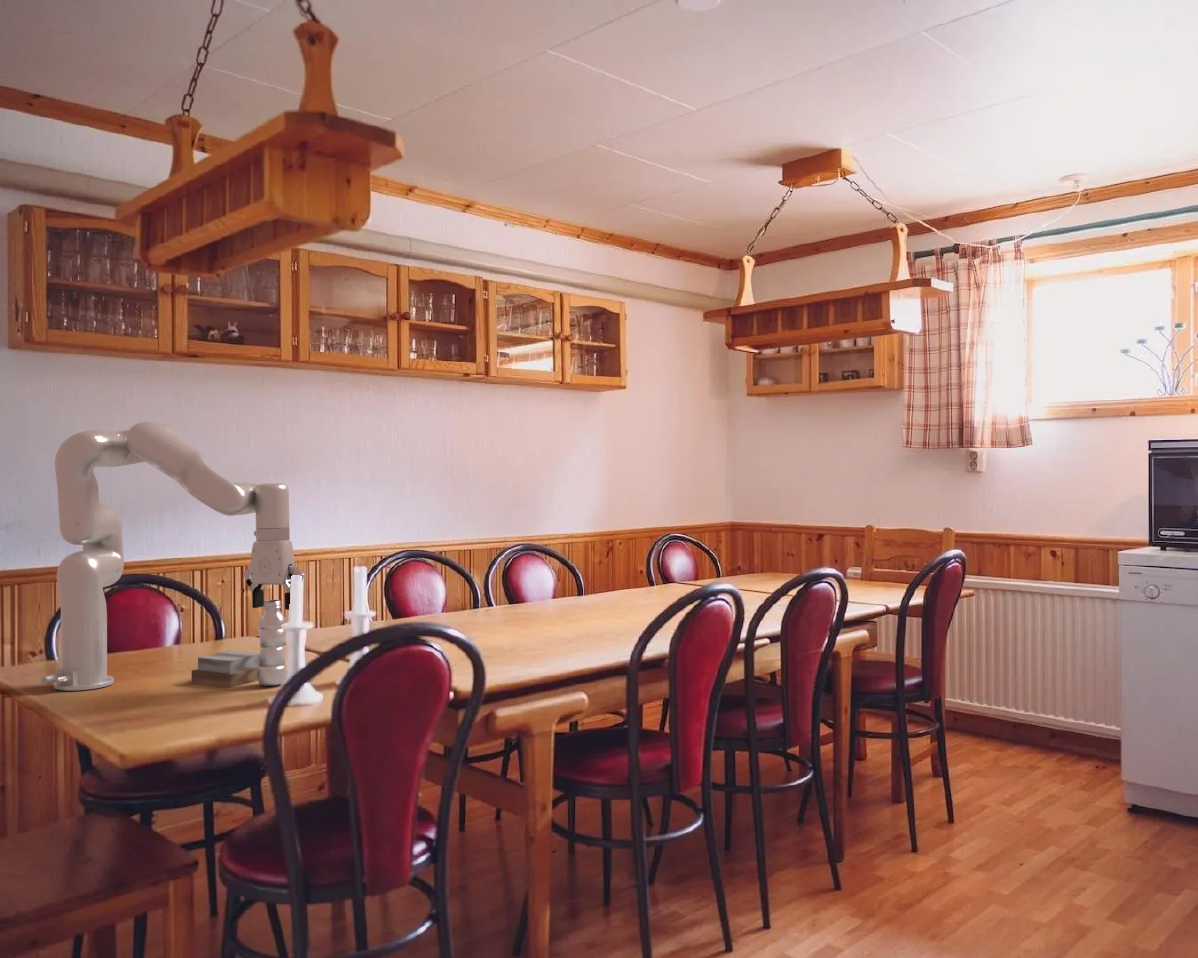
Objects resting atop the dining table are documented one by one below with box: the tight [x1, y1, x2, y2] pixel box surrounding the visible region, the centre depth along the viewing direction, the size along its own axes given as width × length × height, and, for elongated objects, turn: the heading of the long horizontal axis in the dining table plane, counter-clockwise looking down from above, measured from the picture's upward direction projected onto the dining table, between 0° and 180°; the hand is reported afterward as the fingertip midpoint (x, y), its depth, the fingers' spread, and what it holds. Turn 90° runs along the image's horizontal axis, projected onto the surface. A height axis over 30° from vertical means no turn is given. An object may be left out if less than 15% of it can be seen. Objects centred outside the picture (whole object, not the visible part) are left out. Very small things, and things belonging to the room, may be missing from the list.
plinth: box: [191, 650, 260, 689], centre depth 232 cm, size 12×12×6 cm
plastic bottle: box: [257, 599, 288, 687], centre depth 227 cm, size 6×7×20 cm
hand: (274, 608), depth 226 cm, fingers open, 9 cm apart
